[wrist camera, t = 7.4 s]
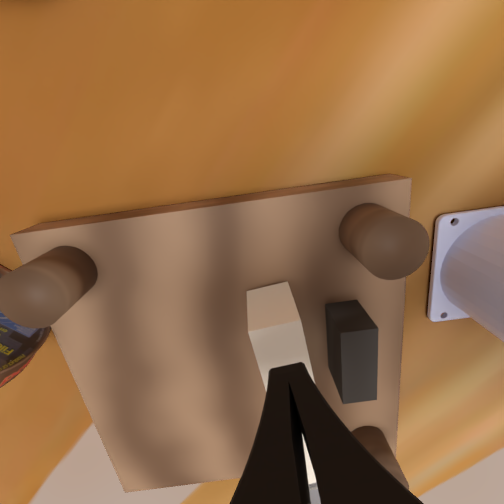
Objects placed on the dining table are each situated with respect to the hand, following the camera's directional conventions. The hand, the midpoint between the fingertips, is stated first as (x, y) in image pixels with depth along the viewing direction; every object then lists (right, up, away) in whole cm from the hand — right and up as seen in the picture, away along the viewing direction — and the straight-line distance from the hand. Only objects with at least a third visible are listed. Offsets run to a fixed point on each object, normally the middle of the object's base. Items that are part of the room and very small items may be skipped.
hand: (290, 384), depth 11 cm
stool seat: (-2, -2, +10) cm, 11 cm away
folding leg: (+1, -3, +8) cm, 9 cm away
